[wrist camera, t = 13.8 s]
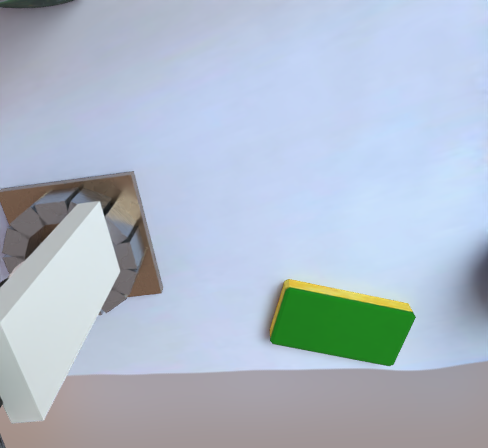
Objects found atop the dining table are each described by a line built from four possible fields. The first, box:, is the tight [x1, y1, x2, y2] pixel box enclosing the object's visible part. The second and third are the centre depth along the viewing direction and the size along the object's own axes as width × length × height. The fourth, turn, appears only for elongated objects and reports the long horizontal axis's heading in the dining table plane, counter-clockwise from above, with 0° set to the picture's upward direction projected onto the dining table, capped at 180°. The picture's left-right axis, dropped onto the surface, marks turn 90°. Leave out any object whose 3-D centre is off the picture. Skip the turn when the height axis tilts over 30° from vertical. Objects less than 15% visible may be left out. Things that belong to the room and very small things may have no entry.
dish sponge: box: [270, 279, 416, 366], centre depth 49 cm, size 7×14×2 cm, turn 77°
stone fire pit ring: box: [0, 171, 163, 315], centre depth 44 cm, size 13×13×4 cm
